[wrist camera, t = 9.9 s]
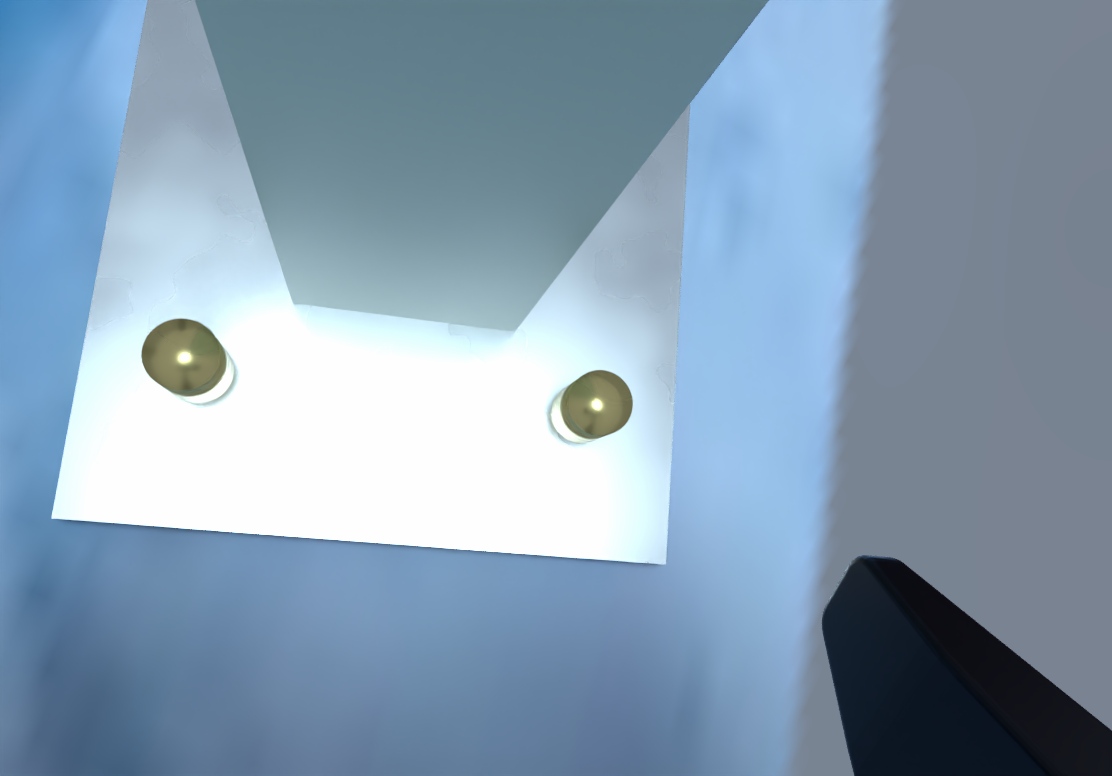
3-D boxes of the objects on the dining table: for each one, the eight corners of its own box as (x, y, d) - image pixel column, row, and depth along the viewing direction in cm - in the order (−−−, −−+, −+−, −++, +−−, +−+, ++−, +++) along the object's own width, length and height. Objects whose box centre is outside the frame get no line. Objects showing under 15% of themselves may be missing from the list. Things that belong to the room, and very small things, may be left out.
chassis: (657, 563, 20) (695, 568, 18) (61, 518, 17) (15, 517, 15) (689, -32, 23) (725, -95, 20) (184, -149, 20) (161, -237, 18)
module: (517, 331, 19) (791, -22, 7) (289, 302, 18) (130, -179, 6) (537, 96, 21) (807, -577, 8) (324, 56, 19) (252, -792, 7)
